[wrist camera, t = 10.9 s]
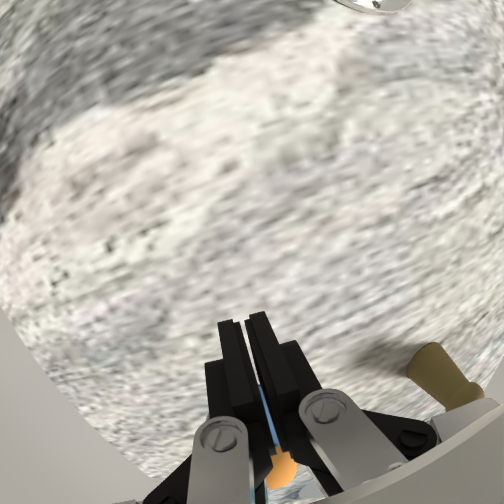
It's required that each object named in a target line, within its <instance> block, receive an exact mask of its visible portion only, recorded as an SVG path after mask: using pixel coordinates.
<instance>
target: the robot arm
mask: <svg viewBox="0 0 504 504" xmlns="http://www.w3.org/2000/svg"><path fill="white" fill-rule="evenodd" d="M337 1H338V2H340V3H342V4H344V5H346V6H348V7H350V8H352V9H355V10H358V11H361V12H364V13H369V14H374V15H389V14H394V13H396V12H398V11H401V10H403V9H404V8H405V7H407V6H408V5H409V3H410V2H411V0H337ZM249 318H250V319H247V320H244V322H245V326H246V330H247V334H248V338H249V343H250V347H251V351H252V355H253V359H254V363H255V367H256V371H257V375H258V378H259V382H260V385H261V388H262V392H263V395H264V398H265V401H266V404H267V407H268V411H269V414H270V417H271V420H272V423H273V426H274V429H275V432H276V435H277V438H278V441H279V444H280V447H281V450H282V453H284V452H288V451H289V454H290V457H291V459H293V460H294V462H297V463H300V464H302V465H305V466H306V467H307V470H308V472H309V473H310V475H311V476H312V478H313V479H314V481H315V482H316V484H317V485H318V487H319V489H320V490H321V492H322V493H323V495H324V496H325V499H322V500H319V501H316V502H313V503H310V504H504V404H502V405H500V404H499V403H498V402H497V401H495V400H493V399H491V398H481V399H478V400H476V401H473V402H471V403H468V404H466V405H464V406H461V407H458V408H456V409H453V410H451V411H448V412H445V413H442V414H439V415H437V416H434V417H432V418H431V420H430V421H427V422H424V421H420V420H416V419H409V418H403V417H397V416H392V415H387V414H381V413H376V412H371V411H367V410H362V409H360V408H359V407H358V406H357V405H356V404H355V403H354V402H353V400H352V399H351V398H350V397H349V396H348V395H346V394H345V393H344V392H342V391H339V390H337V389H329V388H328V389H322V387H321V385H320V383H319V381H318V379H317V378H316V376H315V374H314V372H313V370H312V368H311V367H310V365H309V363H308V361H307V359H306V357H305V356H304V354H303V352H302V350H301V348H300V346H299V345H298V343H297V341H296V340H293V341H290V342H286V343H283V344H279V343H278V340H277V338H276V336H275V334H274V331H273V329H272V327H271V325H270V323H269V320H268V318H267V316H266V314H265V312H264V311H262V312H258V313H254V314H250V315H249ZM217 324H218V330H219V336H220V342H221V348H222V354H223V359H220V360H216V361H211V362H207V363H205V376H206V387H207V397H208V406H209V415H210V420H208V421H206V422H204V423H203V424H202V425H201V426H200V427H199V428H198V429H197V431H196V433H195V436H194V442H193V450H192V454H191V455H190V456H189V457H188V458H187V459H186V460H185V461H184V462H183V463H182V464H181V465H180V466H179V467H178V468H177V469H176V470H175V471H174V472H173V473H171V474H170V475H169V476H168V477H167V478H166V479H165V480H164V481H163V482H162V483H161V484H160V485H159V486H157V487H156V488H155V489H154V490H153V491H152V492H151V493H150V494H149V495H148V496H147V497H146V498H145V499H144V500H143V501H138V502H137V501H136V500H130V501H125V502H120V503H115V504H268V492H267V481H266V477H267V475H268V474H269V473H270V471H271V470H272V469H273V462H272V459H271V456H273V455H277V452H276V448H275V445H274V441H273V437H272V434H271V430H270V426H269V423H268V419H267V415H266V411H265V408H264V404H263V400H262V397H261V393H260V390H259V387H258V383H257V380H256V377H255V373H254V370H253V367H252V363H251V360H250V357H249V353H248V350H247V346H246V343H245V339H244V336H243V332H242V329H241V325H240V322H235V323H233V319H230V320H226V321H222V322H218V323H217Z"/></svg>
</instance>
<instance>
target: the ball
mask: <svg viewBox="0 0 504 504" xmlns="http://www.w3.org/2000/svg"><path fill="white" fill-rule="evenodd" d="M275 448H276V452H277V455H273V456H271V459H272V462H273V469H272V470H271V471H270V473H269V474H268V475H267V477H266V481H267V488H269V489H275V488H280V487H283V486H285V485H287V484H288V483H289V482H290V481H291V480H292V479H293V478H294V476H295V474H296V471H297V462H294V460H293V459H291V457H290V454H289V451H288V452H284V453H282V450H281V447H279V446H275Z"/></svg>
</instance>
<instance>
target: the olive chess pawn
mask: <svg viewBox="0 0 504 504" xmlns="http://www.w3.org/2000/svg"><path fill="white" fill-rule="evenodd" d="M407 375H408V377H409V378H410V379H411V380H412V381H414V382H415V383H416V384H417V385H418V386H420V387H421V388H422V389H423V390H425V391H426V392H427V393H428V394H430V395H431V396H432V397H433V398H434V399H436V400H437V401H438V402H439V403H441V404H442V405H443V406H444V407H446V412H448V411H451V410H453V409H456V408H458V407H461V406H464V405H466V404H468V403H471V402H473V401H476V400H478V399H481V398H484V391H483V389H482V388H481V387H480V386H479V385H478V384H477V383H474V382H469V381H468V380H467V379H466V377H465V376H464V375H463V373H462V372H461V371H460V369H459V368H458V367H457V365H456V364H455V363H454V362H453V360H452V359H451V358H450V357H449V355H448V354H447V353H446V351H445V350H444V349H443V348H442V346H441V345H440V344H439V343H436V342H433V343H430V344H428V345H426V346H424V347H423V348H422V349H421V350H419V351H418V352H417V354H416V355H415V356H414V357H413V358H412V360H411V362H410V363H409V366H408V368H407Z"/></svg>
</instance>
